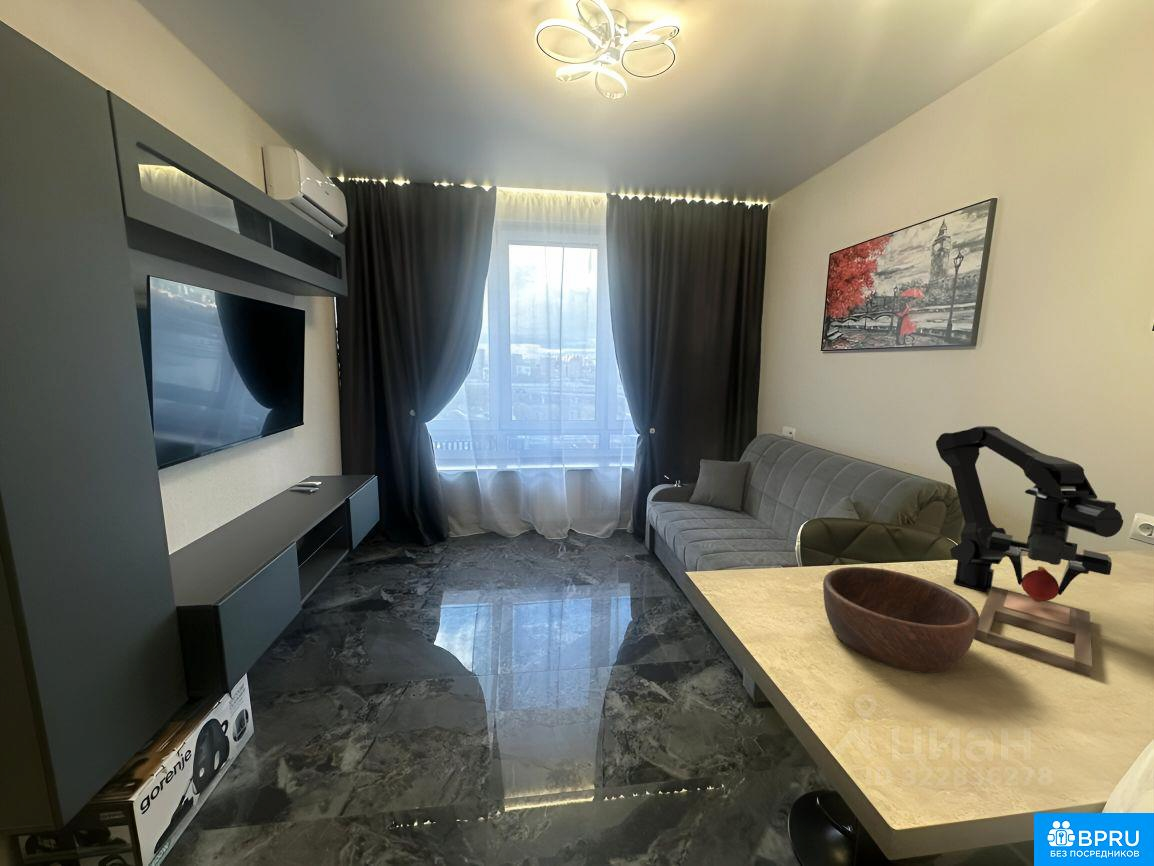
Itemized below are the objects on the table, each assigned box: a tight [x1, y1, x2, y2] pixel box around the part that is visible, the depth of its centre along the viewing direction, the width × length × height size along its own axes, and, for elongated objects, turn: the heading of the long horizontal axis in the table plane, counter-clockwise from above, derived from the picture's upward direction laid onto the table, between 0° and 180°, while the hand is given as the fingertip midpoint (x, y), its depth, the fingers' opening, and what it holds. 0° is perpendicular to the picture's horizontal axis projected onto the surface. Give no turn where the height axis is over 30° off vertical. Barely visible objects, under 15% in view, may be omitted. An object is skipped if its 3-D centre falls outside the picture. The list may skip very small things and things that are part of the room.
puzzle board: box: [973, 585, 1093, 677], centre depth 98 cm, size 16×28×2 cm, turn 133°
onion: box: [1021, 565, 1060, 602], centre depth 102 cm, size 6×6×8 cm
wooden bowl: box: [822, 566, 980, 673], centre depth 92 cm, size 25×25×10 cm
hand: (1039, 589), depth 102 cm, fingers closed on onion, 6 cm apart
